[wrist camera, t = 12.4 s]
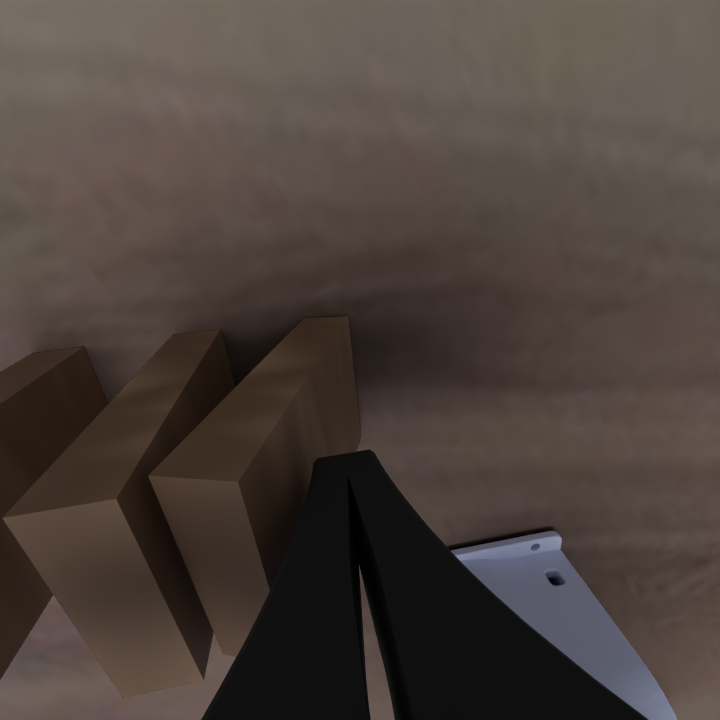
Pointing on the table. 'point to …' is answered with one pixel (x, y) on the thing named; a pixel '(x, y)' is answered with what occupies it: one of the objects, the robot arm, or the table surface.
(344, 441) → the walnut domino
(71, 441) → the walnut domino
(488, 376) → the table surface
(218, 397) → the walnut domino
